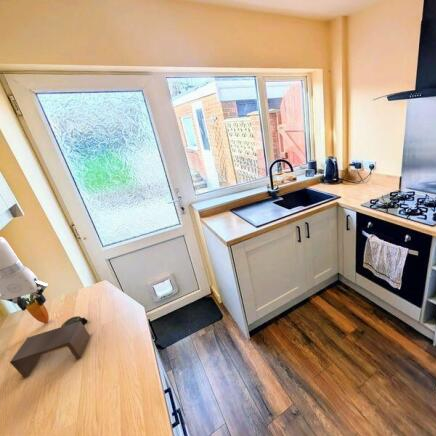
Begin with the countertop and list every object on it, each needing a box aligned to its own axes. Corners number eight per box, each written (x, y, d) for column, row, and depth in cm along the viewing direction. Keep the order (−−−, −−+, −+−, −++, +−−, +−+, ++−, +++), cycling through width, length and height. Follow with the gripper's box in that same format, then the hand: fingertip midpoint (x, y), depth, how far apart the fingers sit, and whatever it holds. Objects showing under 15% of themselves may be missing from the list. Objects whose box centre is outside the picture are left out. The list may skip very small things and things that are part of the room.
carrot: (36, 327, 101) (15, 299, 95) (49, 317, 106) (30, 290, 100) (44, 328, 100) (24, 300, 94) (57, 318, 105) (38, 291, 98)
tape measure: (71, 337, 94) (66, 331, 93) (60, 333, 97) (56, 326, 95) (89, 323, 100) (85, 317, 98) (79, 320, 102) (75, 313, 101)
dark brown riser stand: (23, 377, 81) (9, 362, 77) (39, 352, 89) (27, 337, 86) (80, 357, 86) (69, 342, 82) (90, 335, 94) (80, 320, 91)
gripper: (-30, 282, 86) (1, 320, 93) (31, 267, 91) (55, 304, 98) (-15, 270, 92) (13, 306, 100) (41, 257, 97) (63, 293, 105)
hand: (34, 305), depth 99 cm, fingers closed on carrot, 4 cm apart
